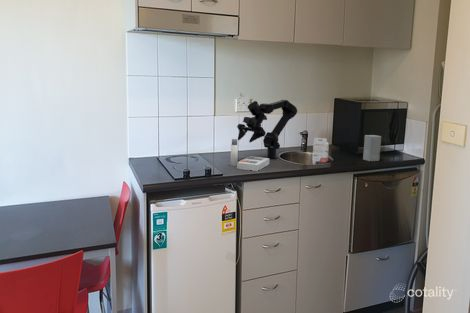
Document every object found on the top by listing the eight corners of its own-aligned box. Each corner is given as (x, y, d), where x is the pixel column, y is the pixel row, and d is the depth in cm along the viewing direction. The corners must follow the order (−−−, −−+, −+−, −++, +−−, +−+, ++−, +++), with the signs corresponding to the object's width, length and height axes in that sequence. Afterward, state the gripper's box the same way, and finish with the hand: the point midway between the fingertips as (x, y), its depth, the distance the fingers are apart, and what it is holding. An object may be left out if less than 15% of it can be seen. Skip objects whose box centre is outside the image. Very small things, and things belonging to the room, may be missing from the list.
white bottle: (231, 164, 248) (231, 138, 245) (237, 164, 248) (238, 139, 244) (230, 165, 244) (230, 139, 241) (236, 166, 244) (237, 140, 241)
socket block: (250, 161, 255) (250, 155, 255) (269, 164, 251) (269, 157, 250) (236, 168, 238) (237, 161, 237) (257, 171, 233) (257, 164, 232)
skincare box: (369, 161, 264) (371, 136, 261) (361, 159, 271) (363, 134, 267) (380, 161, 268) (382, 136, 264) (372, 158, 274) (374, 134, 271)
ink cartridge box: (327, 161, 263) (329, 137, 260) (325, 162, 259) (327, 138, 256) (314, 159, 267) (316, 136, 264) (312, 160, 263) (313, 137, 260)
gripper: (239, 110, 255) (225, 130, 250) (263, 113, 242) (249, 134, 237) (248, 122, 262) (235, 142, 257) (271, 125, 250) (258, 146, 244)
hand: (243, 141), depth 249 cm, fingers open, 9 cm apart
